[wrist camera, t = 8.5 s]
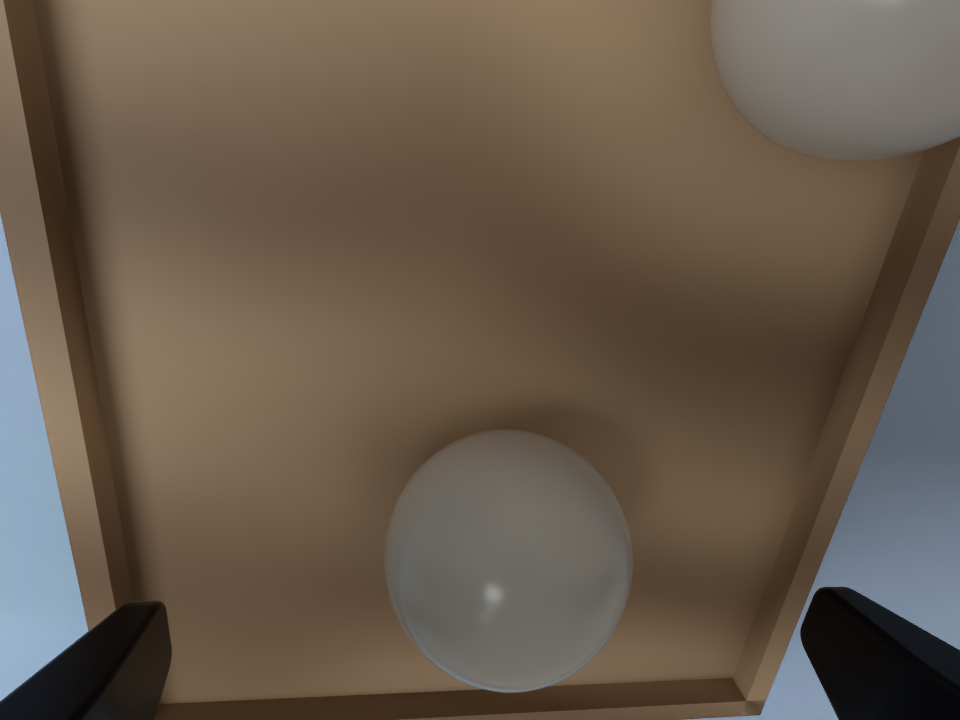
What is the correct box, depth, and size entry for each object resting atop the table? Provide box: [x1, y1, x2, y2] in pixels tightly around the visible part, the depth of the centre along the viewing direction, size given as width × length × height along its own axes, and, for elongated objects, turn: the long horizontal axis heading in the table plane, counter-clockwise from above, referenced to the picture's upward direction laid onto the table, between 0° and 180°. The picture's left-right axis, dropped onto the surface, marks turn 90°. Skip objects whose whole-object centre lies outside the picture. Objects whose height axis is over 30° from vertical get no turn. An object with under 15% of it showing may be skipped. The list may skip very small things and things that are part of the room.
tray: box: [0, 0, 960, 720], centre depth 9 cm, size 20×14×1 cm
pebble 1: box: [384, 429, 633, 693], centre depth 9 cm, size 4×4×4 cm
